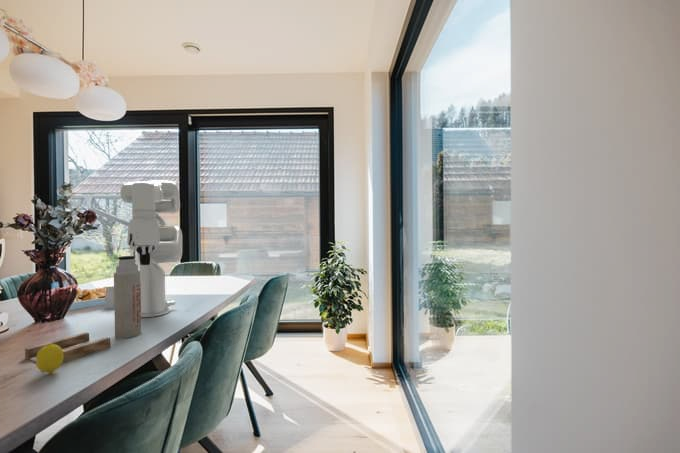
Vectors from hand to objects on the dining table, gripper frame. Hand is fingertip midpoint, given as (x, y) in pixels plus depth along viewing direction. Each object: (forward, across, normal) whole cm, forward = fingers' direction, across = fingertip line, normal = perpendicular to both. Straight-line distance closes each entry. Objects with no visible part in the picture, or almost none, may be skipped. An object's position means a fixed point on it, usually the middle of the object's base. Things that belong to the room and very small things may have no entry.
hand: (145, 264), depth 125 cm
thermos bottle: (+24, +6, 0) cm, 25 cm away
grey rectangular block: (+24, -16, -46) cm, 54 cm away
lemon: (+25, +35, +12) cm, 44 cm away
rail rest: (+24, +24, 0) cm, 35 cm away
